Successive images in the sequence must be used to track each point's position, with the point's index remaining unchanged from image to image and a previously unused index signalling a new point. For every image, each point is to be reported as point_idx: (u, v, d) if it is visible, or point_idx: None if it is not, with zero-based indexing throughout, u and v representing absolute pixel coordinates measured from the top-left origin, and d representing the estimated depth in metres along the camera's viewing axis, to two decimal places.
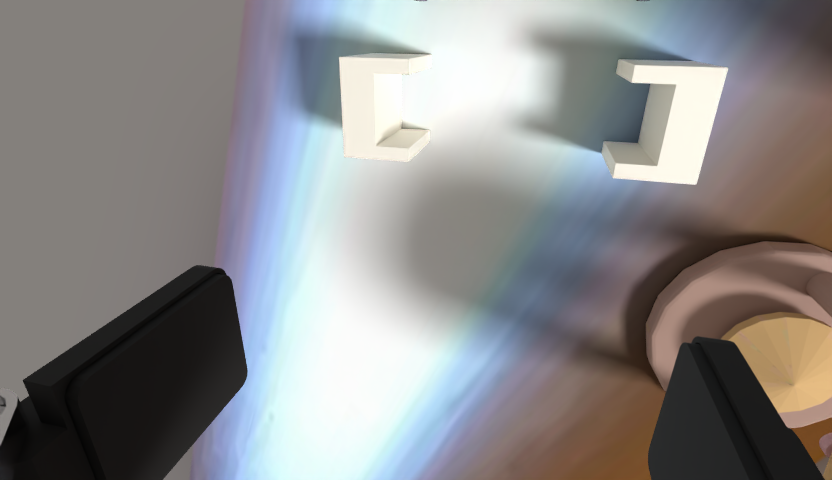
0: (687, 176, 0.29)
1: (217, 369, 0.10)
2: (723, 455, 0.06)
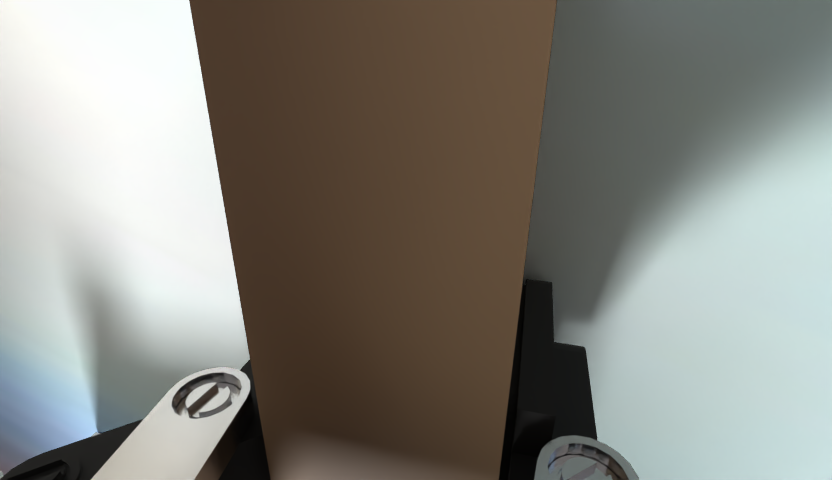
0: None
1: None
2: None
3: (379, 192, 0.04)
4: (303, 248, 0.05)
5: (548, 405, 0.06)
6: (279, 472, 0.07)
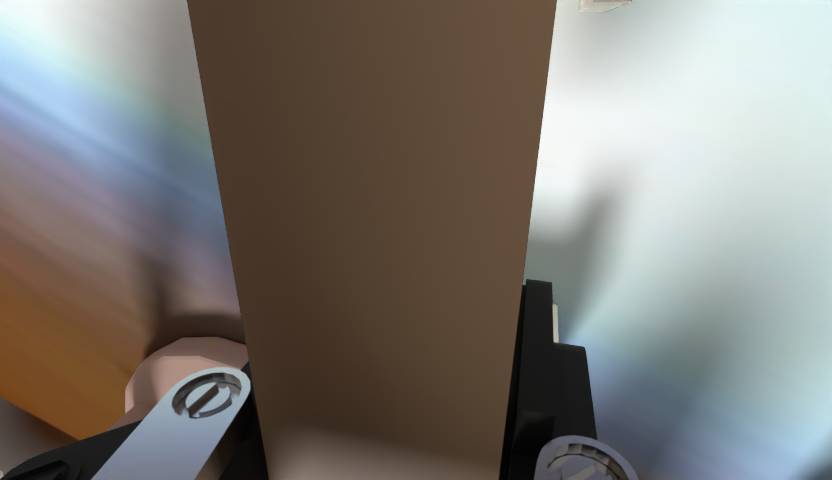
0: None
1: None
2: None
3: (378, 193, 0.04)
4: (302, 249, 0.05)
5: (548, 405, 0.06)
6: (278, 474, 0.07)
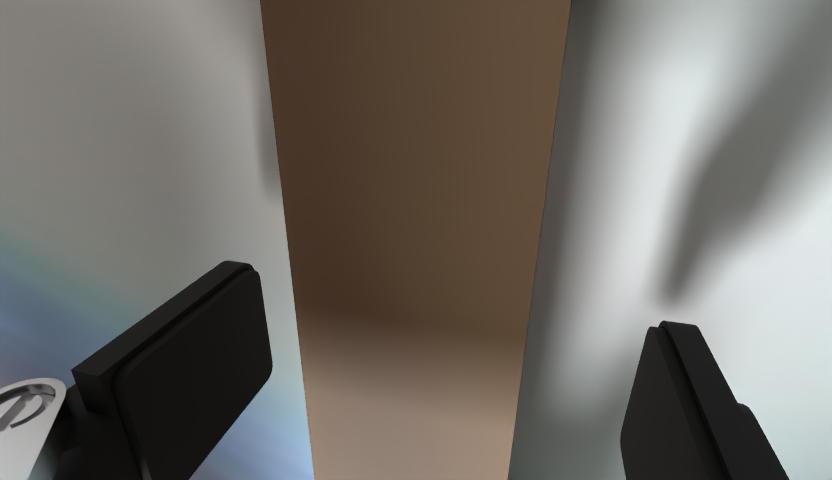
0: None
1: (246, 362, 0.10)
2: (678, 427, 0.07)
3: (418, 167, 0.05)
4: (349, 217, 0.06)
5: None
6: (317, 424, 0.07)
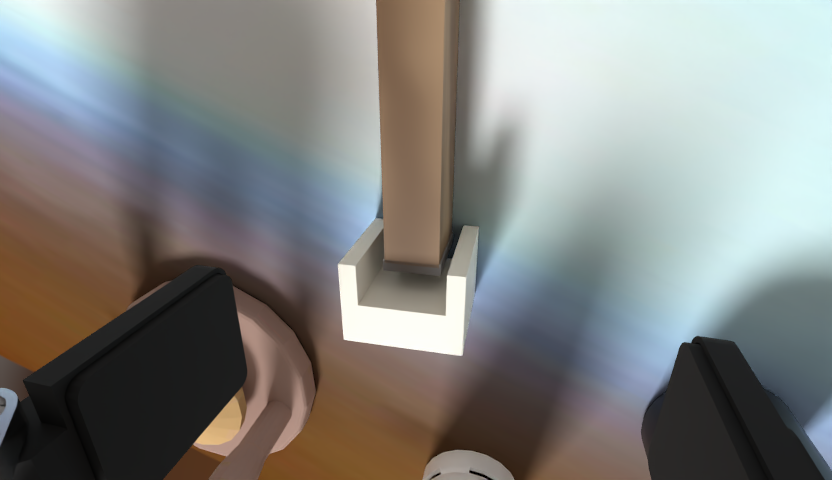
0: (351, 331, 0.27)
1: (217, 369, 0.10)
2: (723, 455, 0.06)
3: (413, 25, 0.21)
4: (395, 42, 0.22)
5: None
6: (383, 119, 0.24)
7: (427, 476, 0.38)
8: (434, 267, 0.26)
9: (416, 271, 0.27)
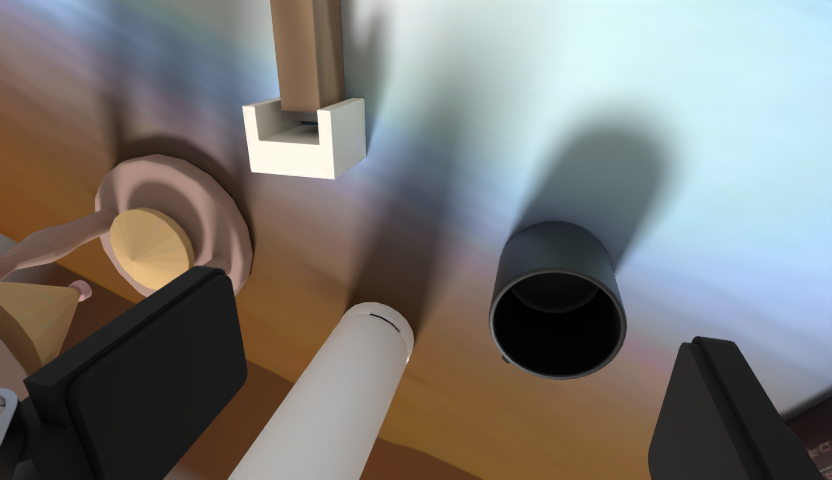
0: (255, 164, 0.36)
1: (217, 369, 0.10)
2: (723, 455, 0.06)
3: None
4: None
5: None
6: None
7: (339, 322, 0.47)
8: None
9: (304, 118, 0.36)
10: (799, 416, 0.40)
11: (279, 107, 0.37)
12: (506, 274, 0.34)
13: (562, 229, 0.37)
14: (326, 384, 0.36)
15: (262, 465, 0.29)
